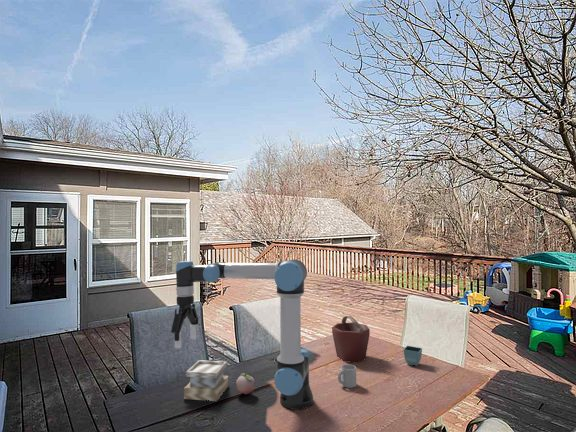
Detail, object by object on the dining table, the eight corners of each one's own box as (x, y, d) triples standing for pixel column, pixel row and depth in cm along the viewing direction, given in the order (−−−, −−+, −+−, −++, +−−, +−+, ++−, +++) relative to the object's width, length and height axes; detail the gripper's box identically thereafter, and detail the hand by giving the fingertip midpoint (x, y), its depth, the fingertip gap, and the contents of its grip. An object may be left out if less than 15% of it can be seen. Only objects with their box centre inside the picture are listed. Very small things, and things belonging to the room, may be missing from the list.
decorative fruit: (232, 394, 164) (232, 373, 164) (245, 388, 170) (245, 368, 170) (244, 401, 157) (244, 378, 158) (258, 394, 163) (258, 373, 164)
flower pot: (422, 363, 202) (422, 347, 203) (419, 368, 195) (419, 352, 195) (407, 360, 207) (407, 345, 207) (403, 365, 199) (403, 349, 200)
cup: (359, 386, 172) (358, 368, 172) (342, 390, 168) (341, 371, 168) (351, 381, 178) (350, 363, 179) (334, 384, 174) (334, 366, 175)
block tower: (228, 386, 173) (228, 361, 174) (217, 401, 157) (217, 373, 158) (198, 384, 175) (198, 359, 176) (184, 398, 159) (184, 372, 160)
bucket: (372, 365, 200) (372, 321, 201) (334, 365, 200) (334, 321, 201) (364, 351, 224) (363, 312, 226) (330, 351, 224) (329, 312, 226)
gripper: (190, 291, 169) (191, 335, 167) (162, 300, 144) (162, 352, 143) (205, 291, 167) (206, 335, 166) (178, 300, 143) (179, 352, 141)
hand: (186, 343), depth 154 cm, fingers open, 13 cm apart
